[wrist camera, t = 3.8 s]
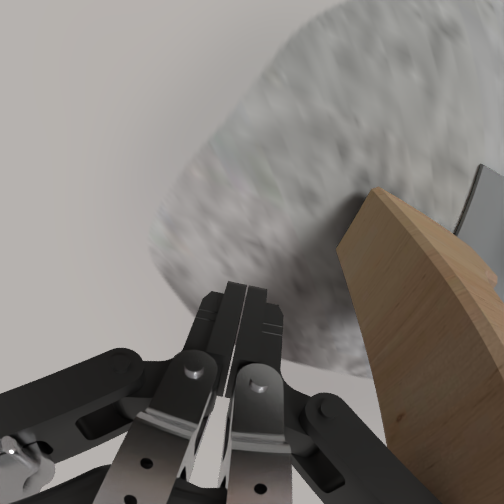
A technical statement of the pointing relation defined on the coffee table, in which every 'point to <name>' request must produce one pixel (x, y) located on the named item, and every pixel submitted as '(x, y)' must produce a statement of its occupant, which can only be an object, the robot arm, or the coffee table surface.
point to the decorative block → (430, 347)
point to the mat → (486, 222)
